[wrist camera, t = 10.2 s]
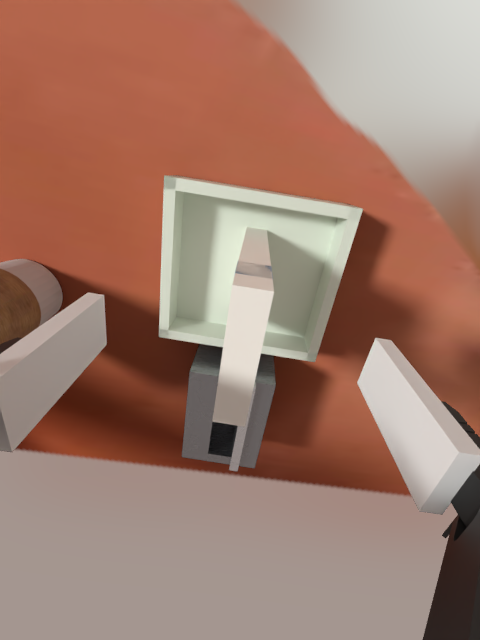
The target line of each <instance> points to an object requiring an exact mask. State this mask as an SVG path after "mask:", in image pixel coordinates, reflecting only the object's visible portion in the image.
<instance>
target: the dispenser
mask: <svg viewBox="0 0 480 640" xmlns="http://www.w3.org/2000/svg"><path fill="white" fill-rule="evenodd" d="M222 351H223V347H218V346H212V345H205V344H199V347H198V350H197V352H196V355H195V358H194V361H193V364H192V366H191V369H190V373H189V384H188V395H187V406H186V417H185V427H184V438H183V449H182V457H185V458H191V459H198V460H204V461H210V462H217V463H223V464H230V466H229V470H232V471H238V467H239V466H242V467H249V468H255V465H256V461H257V457H258V453H259V449H260V445H261V441H262V437H263V434H264V430H265V426H266V422H267V418H268V414H269V410H270V406H271V402H272V398H273V394H274V390H275V386H276V382H275V368H274V355H267V354H261V355H260V360H259V365H258V369H257V374H256V379H255V383H254V388H253V392H252V397H251V402H250V406H249V411H248V416H247V420H246V425H245V427H243V426H237V425H231V424H224V423H218V422H212V420H213V413H214V406H215V399H216V392H217V386H218V379H219V372H220V365H221V358H222Z"/></svg>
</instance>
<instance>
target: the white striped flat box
mask: <svg viewBox="0 0 480 640" xmlns="http://www.w3.org/2000/svg"><path fill="white" fill-rule="evenodd" d="M273 295H274V286H273V274H272V266H271V261H270V253H269V244H268V236H267V230H264V229H258V228H252V227H247V229H246V232H245V236H244V240H243V244H242V248H241V252H240V256H239V260H238V262H237V266H236V270H235V275H234V280H233V284H232V290H231V297H230V304H229V311H228V317H227V324H226V331H225V338H224V345H223V351H222V358H221V365H220V372H219V379H218V386H217V392H216V399H215V406H214V413H213V420H212V422H218V423H224V424H231V425H237V426H243V427H245V425H246V420H247V416H248V411H249V406H250V402H251V397H252V392H253V388H254V383H255V379H256V374H257V369H258V365H259V360H260V355H261V351H262V346H263V341H264V337H265V332H266V327H267V323H268V318H269V313H270V309H271V304H272V299H273Z"/></svg>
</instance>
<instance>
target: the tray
mask: <svg viewBox="0 0 480 640" xmlns="http://www.w3.org/2000/svg"><path fill="white" fill-rule="evenodd" d="M362 211H363V209H362V208H359V207H356V206H353V205H350V204H345V203H339V202H333V201H327V200H321V199H315V198H309V197H303V196H297V195H291V194H285V193H279V192H273V191H267V190H261V189H255V188H249V187H243V186H237V185H231V184H225V183H219V182H213V181H207V180H201V179H195V178H189V177H183V176H177V175H176V176H164V198H163V227H162V257H161V286H160V316H159V337H162V338H168V339H174V340H181V341H187V342H193V343H199V344H205V345H212V346H218V347H223V345H224V338H225V331H226V324H227V317H228V311H229V304H230V297H231V290H232V284H233V280H234V275H235V270H236V266H237V262H238V260H239V256H240V252H241V248H242V244H243V240H244V236H245V232H246V229H247V227H252V228H258V229H264V230H267V236H268V244H269V253H270V261H271V266H272V274H273V286H274V295H273V299H272V304H271V309H270V313H269V318H268V323H267V327H266V332H265V337H264V341H263V346H262V351H261V354H267V355H274V356H280V357H286V358H292V359H299V360H305V361H311V362H315V360H316V357H317V354H318V351H319V348H320V344H321V341H322V338H323V335H324V332H325V329H326V325H327V322H328V319H329V316H330V313H331V309H332V306H333V303H334V300H335V297H336V294H337V290H338V287H339V284H340V281H341V278H342V274H343V271H344V268H345V265H346V262H347V259H348V255H349V252H350V249H351V246H352V243H353V239H354V236H355V233H356V230H357V227H358V224H359V220H360V217H361V214H362Z"/></svg>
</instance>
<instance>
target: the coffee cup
mask: <svg viewBox="0 0 480 640" xmlns="http://www.w3.org/2000/svg"><path fill="white" fill-rule="evenodd" d="M62 300H63V294H62V290H61V287H60V284H59V282H58V281H57V279H56V278H55V276H54V275H53V274H52V273H51V272H50V271H49V270H48V269H47V268H45V267H44V266H42V265H41V264H39V263H37V262H34V261H31V260H27V259H15V260H10V261H6V262H2V263H0V344H2V343H4V342H7V341H9V340H12V339H15V338H17V337H19V338H24V337H25V336H27V335H28V334H29V333H31V332H32V331H34V330H35V329H37V328H38V327H39V326H41V325H42V324H44V323H45V322H46V321H47V320H49V319H50V318H51V317H52V316H53V315H55V314H56V313H57V311H58V310H59V309H60V307H61V305H62Z"/></svg>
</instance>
